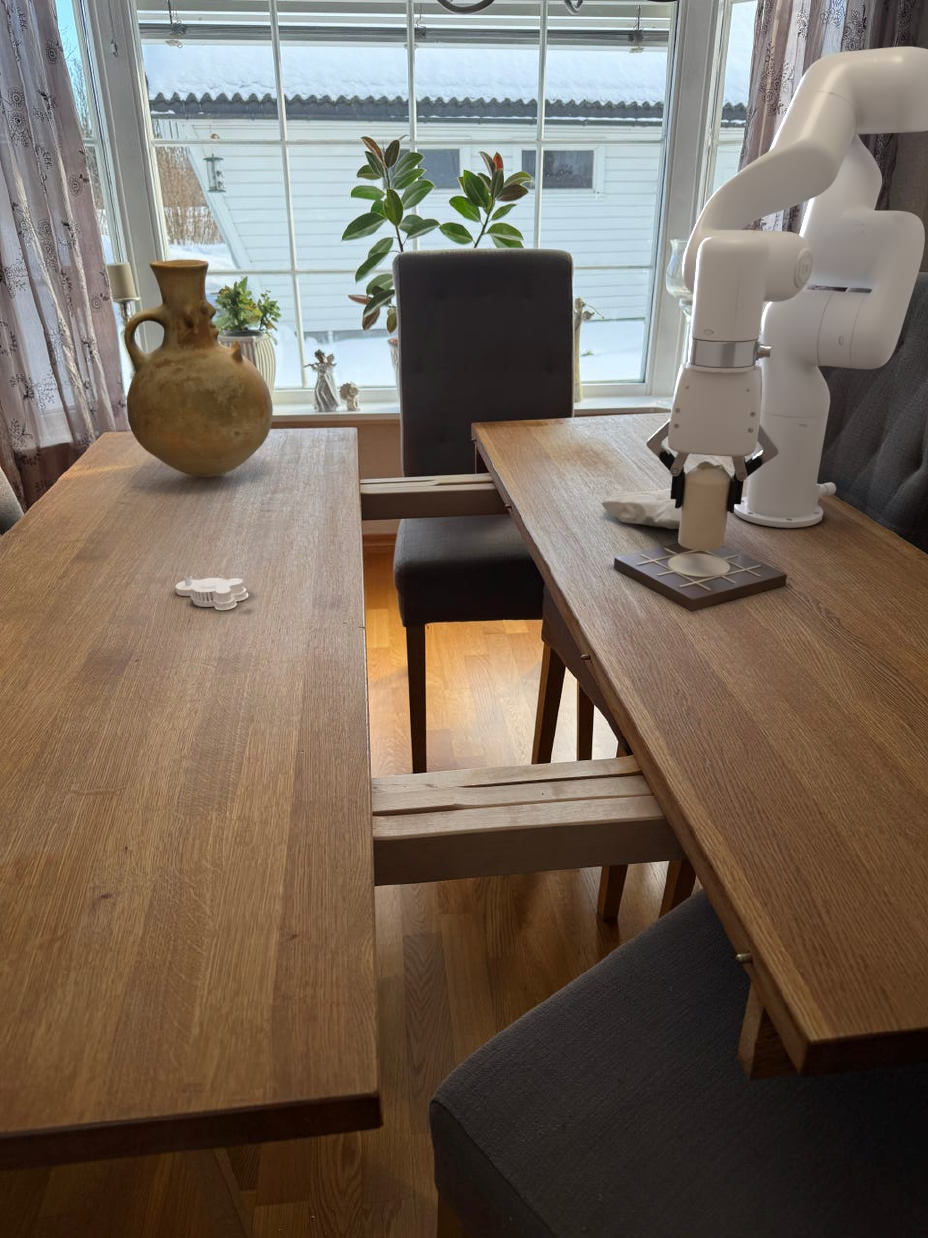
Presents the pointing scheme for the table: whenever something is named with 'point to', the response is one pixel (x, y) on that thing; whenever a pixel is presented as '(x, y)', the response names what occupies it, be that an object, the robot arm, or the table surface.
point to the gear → (213, 591)
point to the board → (699, 574)
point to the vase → (194, 382)
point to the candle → (704, 507)
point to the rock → (645, 508)
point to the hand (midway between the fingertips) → (704, 505)
